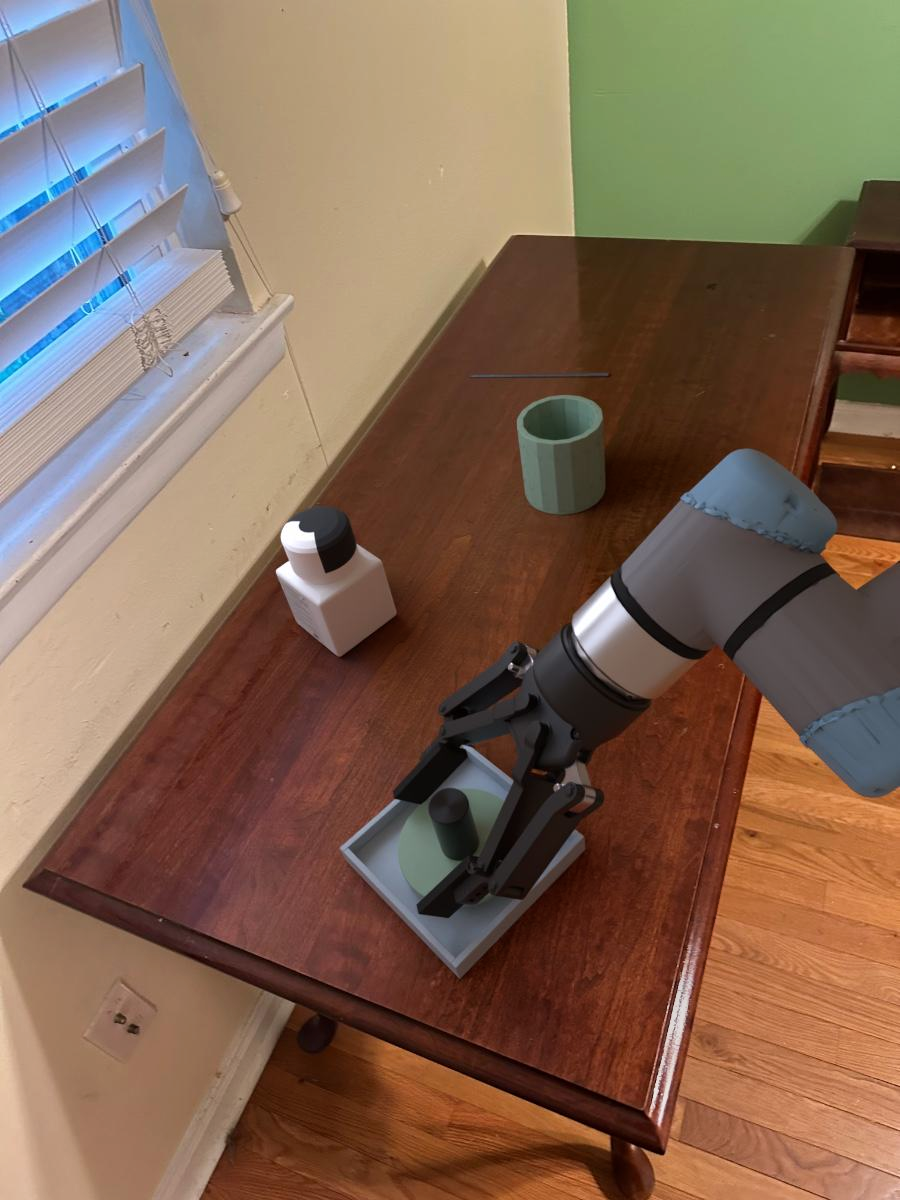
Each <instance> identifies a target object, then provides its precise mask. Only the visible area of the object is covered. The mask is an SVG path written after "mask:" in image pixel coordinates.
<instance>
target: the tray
mask: <svg viewBox="0 0 900 1200" xmlns="http://www.w3.org/2000/svg"><path fill="white" fill-rule="evenodd" d="M460 748H463V749H466V751H467V755H468V758H467V759H466V760H465V761H464V762H463V763H462V764H461V765H460V766H459V767H458V768H457V769H456V770H455V771H454V772H453V773H452V774H451V775H450V776H449V777H448V778H447V779H446V780H445V781H444V783H443V784H442V785H441V786H440V787H439V788H438V789H437V790H436V791H435V792H434V793H433V794H432V795H431V796H430V797H429V798H431V797H432V796H433V795H434V794H435V793H436V792H438V791H440V790H442V789H445V788H455V789H459V788H472V789H479V790H483V791H486V792H489V793H491V794H493V795H495V796H497V797H499V798H500V799H502V800H503V801H505V799H506V797H507V795H508V792H509V790H510V788H511V786H512V784H513V778H512V777H510V776H509V775H508V774H506V773H505V772H503V771H502V770H501V769H500V768H499V767H497V766H496V765H495V764H493V762H491V761H490V760H488V759H487V758H486V757H485V756H484V755H482V754H481V753H480V752H479V751H477V750H476V749H475V748H472V747H469V746H465V745H462V746H461V747H460ZM429 798H428V799H429ZM428 799H427V800H428ZM418 806H420V804H415V803H411V802H406V801H401V800H397V799H393V800H392V801H391V802H390V803H389V804H388V805H387V806H386V807H384V808H383V809H382V810H381V811H380V812H379V813H377V815H375V816H374V817H373V818H371V820H370V821H369V822H367V823H366V824H365V825H364V826H363V827H362V828H360V830H358V831H357V832H356V833H354V834H353V836H351V837H350V838H349V839H348V840H347V841H345V843H343V844H342V845H341V846H340V847H339V850H340V852H341V854H342V856H343V858H344V861H346V863H347V864H348V865H349V866H350V867H351V868H352V869H353V870H354V871H355V872H356V873H357V874H358V875H359V876H360V877H361V878H362V879H363V880H364V881H365V882H366V884H367V885H368V886H369V887H370V888H371V889H372V890H373V891H374V892H375V893H376V894H377V895H378V896H379V897H380V898H381V899H382V900H383V901H384V902H385V903H386V905H388V906H389V907H390V909H392V911H394V912H395V913H396V915H398V917H399V918H400V919H401V920H402V921H403V922H404V923H405V924H406V925H407V926H408V927H409V928H410V930H412V931H413V932H414V933H415V934H416V935H417V936H418V937H419V938H420V940H421V941H423V943H424V944H425V945H426V946H427V947H428V948H429V949H430V950H431V951H432V952H433V954H435V955H436V956H437V957H438V958H439V959H440V960H441V961H442V963H443V964H445V965H446V966H447V968H449V970H450V971H451V972H452V973H453V974H454V975H455V976H456V977H457V978H458V979H462V978H463V976H465V975H466V973H467V972H469V971H470V969H471V968H473V966H474V965H475V964H476V963H477V962H478V961H479V960H480V959H481V958H482V957H483V956H484V955H485V954H487V952H488V951H489V950H490V949H491V948H492V947H493V946H494V945H495V943H496V942H498V941H499V939H500V938H501V937H502V936H504V934H505V933H506V932H507V931H508V930H509V929H510V928H511V927H512V926H513V925H514V924H515V923H516V922H517V921H518V920H519V919H520V918H521V917H522V915H524V914H525V912H526V911H528V910H529V909H530V907H531V906H532V905H534V903H535V902H536V901H537V900H538V899H539V898H540V897H541V896H542V895H543V894H544V893H545V892H546V891H547V890H548V889H549V888H550V887H551V885H553V884H554V883H555V882H556V880H558V878H560V876H561V875H562V874H563V873H564V872H565V871H567V869H568V868H569V867H570V866H571V865H572V864H573V863H574V862H575V861H576V860H577V859H578V858H579V857H580V856H581V854H583V853H584V852H585V851H586V841H585V840H586V839H585V835H583V834H582V833H580V832H579V830H577V829H575V830H574V831H573V832H572V834H571V835H570V837H569V838H568V839H567V841H566V842H565V843H564V845H563V846H562V848H561V849H560V850H559V852H558V853H557V854H556V856H555V857H554V859H553V860H552V861H551V863H550V864H549V865H548V867H547V868H546V870H545V871H544V872H543V874H542V875H541V876H540V878H539V879H538V881H537V882H536V883H535V885H534V886H533V888H532V889H531V890H530V892H529V893H528V894H527V896H526V897H525V898H524V899H523V900H518V899H512V898H505V897H499V896H494V897H493V898H491V899H489V900H487V901H485V902H483V903H480V904H477V905H474V906H469V907H462V908H459V909H458V910H457V911H456V912H455V913H454V914H453V915H452V916H451V917H449V918H442V917H435V916H428V915H421V914H418V910H417V905H416V904H417V903H418V902H420V901H421V900H422V899H423V898H422V897H421V896H419V895H418V894H417V893H416V892H415V891H414V890H413V889H412V888H411V887H410V886H409V884H408V883H407V881H406V879H405V878H404V875H403V873H402V871H401V868H400V865H399V860H398V843H399V838H400V834H401V831H402V829H403V827H404V824H405V823H406V821H407V819H408V818H409V817H410V815H411V814H412V813H413V812H414V811H415V809H416V808H417V807H418Z"/></svg>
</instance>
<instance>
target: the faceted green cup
mask: <svg viewBox="0 0 900 1200" xmlns="http://www.w3.org/2000/svg"><path fill="white" fill-rule="evenodd" d="M603 415H604V414H603V409H602V408H601V407H600V406H599V405H598V404H597V403H596V402H595V401H594V400H591V399H589V398H586V397H584V396H581V395H571V394H560V395H551V396H547V397H543V398H541V399H538V400H535V401H533V402H531V403H530V404H529V405H527V406H525V407H524V408H523V409H522V410H521V412H520V413H519V415H518V417H517V418H516V430H517V437H518V447H519V455H520V462H521V463H520V464H521V471H522V480H523V488H524V494H525V498H526V500H527V502H528V503H529V504H530V506H532V507H533V508H535V509H536V510H538V511H540V512H543V513H545V514H549V515H557V516H558V515H559V516H565V515H573V514H577V513H581V512H584V511H586V510H588V509H591V508H592V507H594V506H595V505H596V504H598V503H599V502H600V500H601V499H602V498H603V496H604V494H605V491H606V461H605V435H604V434H605V433H604V431H605V430H604V429H605V428H604V416H603Z"/></svg>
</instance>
